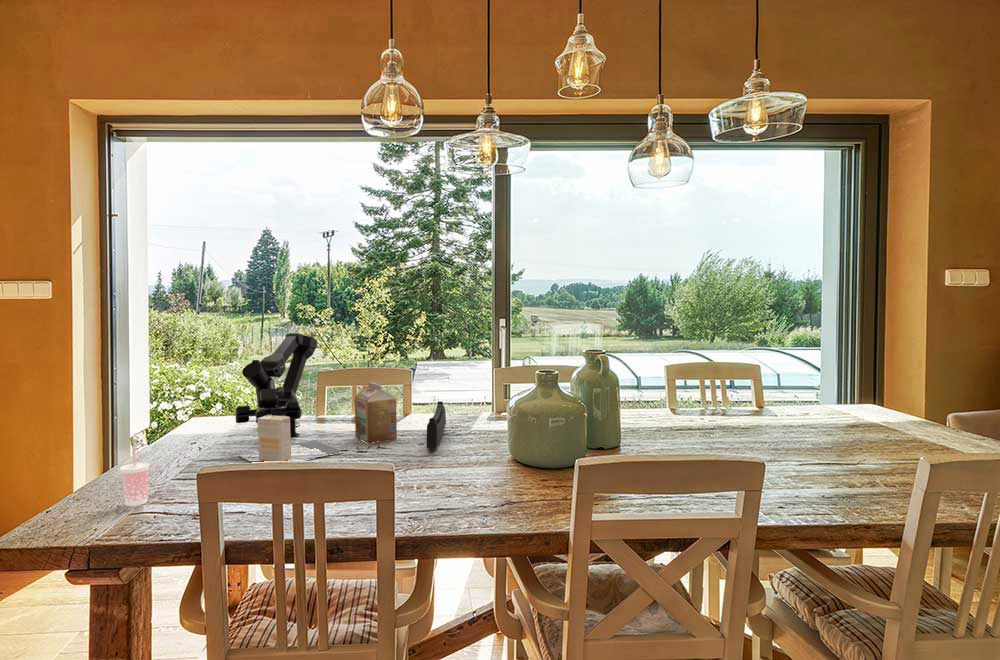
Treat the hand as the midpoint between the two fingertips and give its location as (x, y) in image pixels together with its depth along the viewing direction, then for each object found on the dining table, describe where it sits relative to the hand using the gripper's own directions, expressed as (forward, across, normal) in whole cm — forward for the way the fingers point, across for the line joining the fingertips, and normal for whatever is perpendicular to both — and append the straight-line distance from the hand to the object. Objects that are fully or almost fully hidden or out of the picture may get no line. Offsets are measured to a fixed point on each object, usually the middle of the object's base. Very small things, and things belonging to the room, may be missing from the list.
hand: (271, 434), depth 186 cm
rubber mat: (+5, +6, +4) cm, 9 cm away
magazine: (+8, +52, +1) cm, 53 cm away
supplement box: (+10, 0, -1) cm, 10 cm away
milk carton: (0, +34, +10) cm, 36 cm away
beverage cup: (+24, -34, -14) cm, 44 cm away
